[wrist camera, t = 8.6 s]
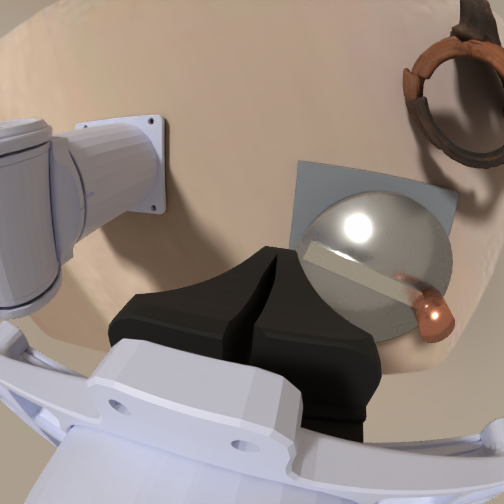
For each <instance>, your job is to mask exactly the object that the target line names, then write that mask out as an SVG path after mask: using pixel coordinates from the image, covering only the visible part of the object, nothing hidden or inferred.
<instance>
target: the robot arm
mask: <svg viewBox="0 0 504 504" xmlns="http://www.w3.org/2000/svg"><path fill="white" fill-rule="evenodd" d="M152 118H153V119H154V123H153V124H151V119H152ZM164 124H165V120H164V117H163V116H162V115H144V116H133V117H123V118H114V119H105V120H98V121H91V122H84V123H78V124H76V126H75V130H71V131H66V132H61V133H57V134H52V127H51V126H50V125H47V123H46V122H45V121H44V120H43V119H42V118H25V119H16V120H10V121H4V122H0V319H16V318H21V317H25V316H28V315H30V314H33V313H34V312H36V311H38V310H39V309H41V308H42V307H44V306H45V305H46V304H48V303H49V302H50V301H51V300H52V299H53V298H54V297H55V295H56V294H57V292H58V291H59V289H60V286H61V283H62V270H61V266H62V265H63V264H65V263H66V262H67V261H69V260H70V259H71V258H73V247H74V245H75V243H77V242H78V241H80V240H81V239H83V238H84V237H86V236H87V235H89V234H90V233H92V232H94V231H95V230H97V229H98V228H100V227H101V226H103V225H105V224H106V223H108V222H109V221H111V220H113V219H114V218H116V217H117V216H119V215H121V214H122V213H124V212H126V211H131V212H141V213H151V214H162V213H164V212H165V211H166V192H165V154H164ZM86 126H87V128H86ZM153 205H155V206H156V210H155V209H154V208H153ZM108 336H109V341H110V344H111V347H112V348H111V350H110V351H109V352H108V354H107V355H106V356H105V358H104V359H103V360H102V361H101V363H100V364H99V365H98V367H97V368H96V369H95V371H94V372H93V373H92V375H91V376H90V378H88V377H85V376H83V375H81V374H79V373H77V372H75V371H73V370H71V369H69V368H67V367H65V366H63V365H61V364H60V363H58V362H56V361H54V360H52V359H50V358H49V357H47V356H45V355H43V354H42V353H40V352H38V351H37V350H35V349H33V348H31V347H30V346H29V344H28V342H27V339H26V337H25V335H24V334H23V332H22V331H21V330H20V329H19V328H17V327H16V326H14V325H13V324H11V323H10V322H8V321H6V320H4V321H3V322H2V323H1V324H0V400H1V401H2V402H3V403H4V404H5V405H6V406H7V407H8V408H9V409H11V410H12V411H13V412H14V413H15V414H17V416H19V417H20V418H21V419H22V420H23V421H24V422H26V423H27V424H28V425H29V426H30V427H32V428H33V429H34V430H35V431H36V432H38V433H39V434H40V435H41V436H43V437H44V438H45V439H47V440H48V441H49V442H50V443H52V444H53V445H54V446H56V447H57V450H56V452H55V453H54V454H53V456H52V457H51V459H50V461H49V462H48V464H47V465H46V467H45V469H44V470H43V472H42V473H41V475H40V477H39V478H38V480H37V482H36V483H35V485H34V487H33V488H32V490H31V492H30V493H29V495H28V497H27V498H26V500H25V502H24V504H483V503H485V502H487V501H489V500H491V499H493V498H494V497H496V496H498V495H499V494H501V493H502V492H504V417H501V418H497V419H495V420H493V421H491V422H490V423H489V424H488V425H487V426H486V427H485V428H484V429H483V430H482V431H481V433H479V434H473V435H467V436H462V437H454V438H446V439H438V440H428V441H415V442H394V443H363V422H364V421H365V420H366V406H367V404H368V402H369V401H370V399H371V397H372V396H373V394H374V392H375V391H376V389H377V387H378V385H379V383H380V380H381V377H382V374H381V363H380V358H379V354H378V351H377V347H376V345H375V342H374V339H373V336H372V335H371V334H369V333H368V332H366V331H364V330H362V329H361V328H359V327H357V326H355V325H353V324H352V323H350V322H349V321H348V320H346V319H345V318H343V317H342V316H341V315H339V314H338V313H337V312H336V311H334V310H333V309H332V308H331V307H330V306H329V305H328V304H327V303H326V302H325V301H324V300H323V299H322V298H321V297H320V296H319V294H318V293H317V292H316V290H315V289H314V288H313V286H312V285H311V283H310V281H309V280H308V278H307V276H306V274H305V272H304V270H303V268H302V266H301V264H300V261H299V258H298V253H297V252H296V250H290V249H283V248H276V247H269V246H265V247H263V248H262V249H260V250H259V251H258V252H256V253H255V254H254V255H252V256H251V257H250V258H248V259H247V260H245V261H244V262H242V263H241V264H239V265H237V266H236V267H234V268H232V269H231V270H229V271H227V272H225V273H223V274H221V275H219V276H217V277H214V278H212V279H210V280H207V281H204V282H201V283H198V284H195V285H192V286H188V287H184V288H180V289H175V290H170V291H164V292H156V293H146V294H135V295H134V296H133V297H132V299H131V300H130V301H129V302H128V303H127V304H126V305H125V306H124V307H123V309H122V310H121V311H120V312H119V313H118V314H117V315H116V316H115V318H114V319H113V320H112V322H111V323H110V325H109V329H108Z"/></svg>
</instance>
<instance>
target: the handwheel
mask: <svg viewBox="0 0 504 504" xmlns="http://www.w3.org/2000/svg"><path fill="white" fill-rule="evenodd" d="M296 252H297V253H298V258H299V261H300V264H301V266H302V268H303V270H304V272H305V274H306V276H307V278H308V280H309V281H310V283H311V285H312V286H313V288H314V289H315V290H316V292H317V293H318V294H319V296H320V297H321V298H322V299H323V300H324V301H325V302H326V303H327V304H328V305H329V306H330V307H331V308H332V309H333V310H334V311H336V312H337V313H338V314H339V315H341V316H342V317H343V318H345V319H346V320H348V321H349V322H350V323H352V324H353V325H355V326H357V327H359V328H361V329H362V330H364V331H366V332H368V333H369V334H371V335H372V336H373V339H374V342H380V341H385V340H389V339H392V338H395V337H398V336H400V335H402V334H405V333H407V332H409V331H410V330H412V329H413V328H415V327H417V326H418V327H419V330H420V333H421V335H422V338H423V339H424V340H425V341H426V342H429V343H436V342H439V341H442V340H444V339H445V338H446V337H448V336H449V335H450V334H451V332H452V331H453V329H454V326H455V319H454V317H453V315H452V313H451V311H450V309H449V308H448V306H447V304H446V302H445V300H444V298H443V296H444V294H445V293H446V290H447V288H448V285H449V282H450V278H451V274H452V265H453V259H452V250H451V244H450V241H449V238H448V236H447V233H446V232H445V230H444V228H443V226H442V225H441V223H440V222H439V221H438V219H437V218H436V217H435V216H434V215H433V214H432V213H431V212H430V211H429V210H428V209H427V208H426V207H424V206H423V205H422V204H420V203H419V202H417V201H416V200H414V199H412V198H410V197H408V196H406V195H403V194H400V193H396V192H391V191H379V190H373V191H365V192H360V193H356V194H352V195H349V196H347V197H345V198H342V199H340V200H338V201H336V202H335V203H333V204H331V205H329V206H328V207H327V208H326V209H324V210H323V211H322V212H320V213H319V214H318V215H317V216H316V217H315V218H314V219H313V220H312V222H311V223H310V224H309V226H308V227H307V228H306V230H305V231H304V233H303V235H302V237H301V238H300V241H299V243H298V246H297V248H296Z"/></svg>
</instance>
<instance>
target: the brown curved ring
mask: <svg viewBox="0 0 504 504" xmlns="http://www.w3.org/2000/svg"><path fill="white" fill-rule="evenodd" d="M450 33H451V34H450V37H448V38H445V39H443V40H441V41H440V42H437V43H435V44H433V45H432V46H431V47H430V48H428V49H427V50H426V51H425V52H424V53H423V54H421V55H420V57H419V58H418V59H417V61H416V62H415V64H414V66H413V68H412V72H410V70H409V69H408V68H405V69H404V71H403V91H404V95H405V97H406V105H407V108H408V109H409V111H410V113H411V115H412V117H413V118H414V120H415V122H416V123H417V125H418V126H419V128H420V129H421V131H422V132H423V134H424V135H425V136H426V137H427V138H428V140H429V141H430V142H431V143H432V144H433V145H434V146H435V147H436V148H438V149H441V150H443V152H444V153H445V154H446V155H447V156H449V157H450V158H451V159H453V160H455V161H457V162H459V163H461V164H463V165H465V166H468V167H473V168H480V169H481V168H483V169H488V168H490V167H496V166H499V165H501V164H504V145H503V146H502V147H500V148H499V149H497V150H495V151H492V152H490V153H475V152H470V151H467V150H464V149H462V148H460V147H458V146H457V145H455V144H454V143H452V142H451V141H450V140H448V138H446V136H445V135H444V134H443V133H442V132H441V131H440V129H439V128H438V127H437V125H436V124H435V122H434V120H433V118H432V115H431V113H430V110H429V107H428V102H427V98H426V97H423V85H424V81H425V79H430V77H431V76H432V74H433V72H434V71H435V69H436V68H437V67H438V66H439V65H440V64H442V63H443V62H445V61H447V60H449V59H452V58H457V57H465V58H469V57H470V58H474V59H477V60H479V61H481V62H483V63H485V64H487V65H489V66H490V67H491V68H493V69H494V70H495V71H496V73H497V74H498V76H499V78H500V79H501V82H502V84H503V88H504V48H503V47H502V46H501V42H500V39H499V35H498V30H497V25H496V21H495V18H494V16H493V14H492V11H491V8H490V4H489V2H488V1H487V0H460V22H459V24H458V25H456V26H454V27H452V31H451V32H450ZM503 116H504V110H503Z"/></svg>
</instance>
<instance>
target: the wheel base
mask: <svg viewBox="0 0 504 504" xmlns="http://www.w3.org/2000/svg"><path fill="white" fill-rule="evenodd" d="M373 190H379V191H391V192H396V193H400V194H403V195H406V196H408V197H410V198H412V199H414V200H416V201H417V202H419V203H420V204H422V205H423V206H424V207H426V208H427V209H428V210H429V211H430V212H431V213H432V214H433V215H434V216H435V217H436V218H437V219H438V221H439V222H440V223H441V225H442V226H443V228H444V230H445V232H446V233H447V236H449V233H450V229H451V226H452V222H453V218H454V214H455V210H456V206H457V202H458V198H459V193H458V192H456V191H455V190H452V189H448V188H444V187H441V186H437V185H433V184H428V183H424V182H420V181H416V180H411V179H407V178H402V177H397V176H392V175H387V174H382V173H377V172H372V171H366V170H360V169H355V168H348V167H342V166H336V165H329V164H322V163H315V162H307V161H298V168H297V179H296V189H295V198H294V208H293V217H292V226H291V235H290V243H289V249H290V250H296V248H297V246H298V243H299V241H300V238H301V237H302V235H303V233H304V231H305V230H306V228H307V227H308V226H309V224H310V223H311V222H312V220H313V219H314V218H315V217H316V216H317V215H318V214H319V213H320V212H322V211H323V210H324V209H326V208H327V207H328V206H329V205H331V204H333V203H335V202H336V201H338V200H340V199H342V198H345V197H347V196H349V195H352V194H356V193H360V192H365V191H373Z"/></svg>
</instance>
